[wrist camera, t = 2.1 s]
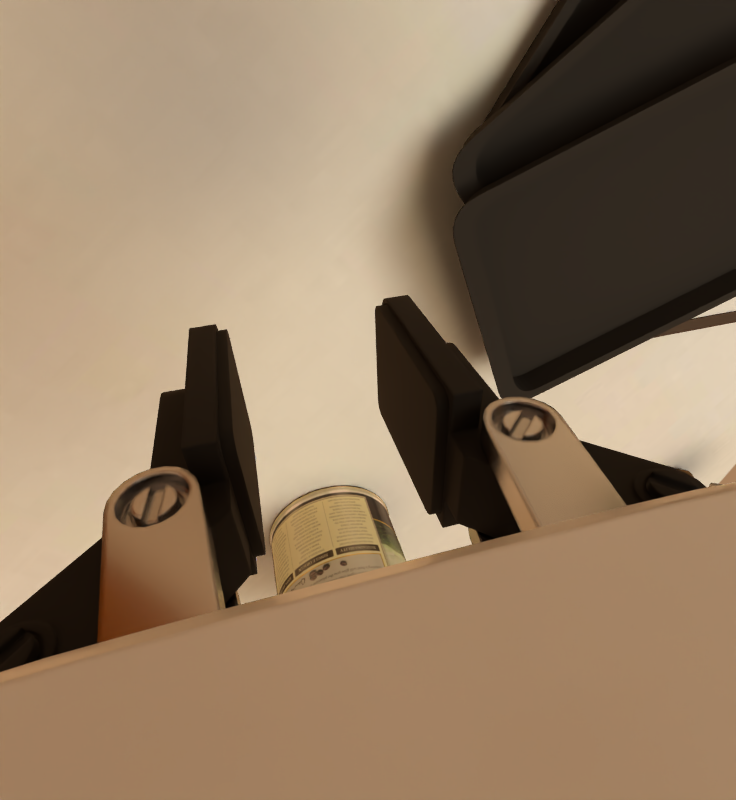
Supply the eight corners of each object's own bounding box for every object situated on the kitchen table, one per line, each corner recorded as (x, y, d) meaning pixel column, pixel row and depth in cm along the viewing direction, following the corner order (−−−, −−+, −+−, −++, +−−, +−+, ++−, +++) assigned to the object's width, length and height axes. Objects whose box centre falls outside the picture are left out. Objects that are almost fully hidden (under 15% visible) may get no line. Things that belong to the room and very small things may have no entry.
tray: (666, -434, 16) (814, -587, 12) (941, -55, 26) (1075, -72, 22) (354, 331, 31) (376, 375, 27) (607, 393, 40) (652, 433, 36)
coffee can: (411, 500, 42) (484, 664, 31) (348, 574, 46) (392, 743, 35) (307, 470, 36) (350, 654, 25) (246, 556, 40) (260, 749, 29)
